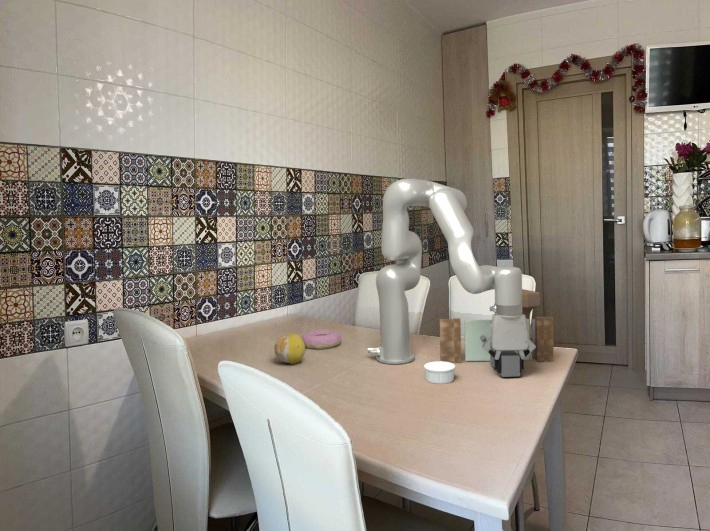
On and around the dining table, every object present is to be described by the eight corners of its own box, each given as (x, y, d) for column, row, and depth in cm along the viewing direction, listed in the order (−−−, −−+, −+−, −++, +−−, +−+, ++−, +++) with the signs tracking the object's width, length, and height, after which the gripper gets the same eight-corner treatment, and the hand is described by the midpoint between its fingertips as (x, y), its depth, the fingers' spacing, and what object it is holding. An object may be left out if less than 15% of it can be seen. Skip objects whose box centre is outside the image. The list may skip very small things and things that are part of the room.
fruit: (292, 357, 181) (291, 329, 180) (312, 362, 173) (311, 333, 172) (268, 364, 174) (266, 334, 173) (287, 369, 166) (286, 339, 165)
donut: (335, 339, 206) (335, 326, 206) (346, 347, 192) (346, 334, 191) (297, 343, 201) (296, 330, 201) (305, 352, 187) (305, 339, 186)
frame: (441, 363, 167) (440, 320, 166) (440, 361, 169) (439, 318, 168) (553, 361, 164) (553, 318, 163) (551, 359, 166) (551, 316, 165)
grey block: (502, 376, 149) (502, 356, 148) (490, 363, 162) (490, 345, 161) (519, 376, 149) (519, 355, 148) (506, 363, 162) (506, 344, 161)
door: (466, 362, 165) (465, 322, 164) (465, 359, 168) (464, 320, 167) (537, 361, 163) (537, 320, 162) (534, 358, 166) (534, 318, 165)
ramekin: (448, 386, 144) (448, 371, 144) (419, 382, 149) (418, 367, 149) (459, 377, 152) (459, 363, 151) (431, 374, 157) (431, 359, 156)
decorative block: (541, 350, 178) (540, 292, 176) (526, 352, 176) (526, 293, 175) (521, 343, 189) (521, 288, 187) (507, 344, 187) (507, 289, 185)
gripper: (480, 313, 146) (481, 376, 148) (542, 311, 145) (542, 375, 146) (476, 308, 153) (477, 368, 155) (535, 307, 152) (535, 367, 154)
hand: (509, 371), depth 151 cm, fingers closed on grey block, 5 cm apart
